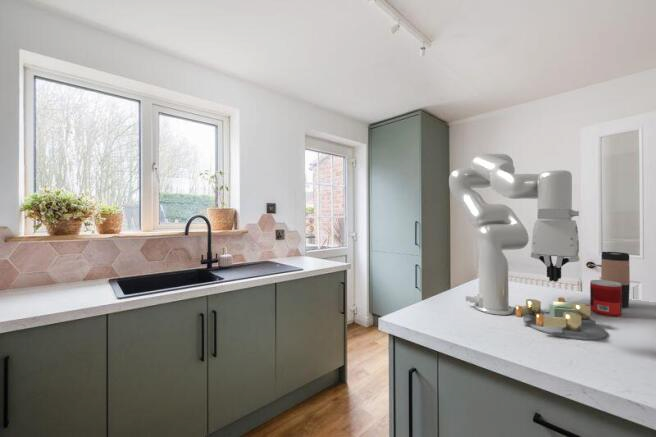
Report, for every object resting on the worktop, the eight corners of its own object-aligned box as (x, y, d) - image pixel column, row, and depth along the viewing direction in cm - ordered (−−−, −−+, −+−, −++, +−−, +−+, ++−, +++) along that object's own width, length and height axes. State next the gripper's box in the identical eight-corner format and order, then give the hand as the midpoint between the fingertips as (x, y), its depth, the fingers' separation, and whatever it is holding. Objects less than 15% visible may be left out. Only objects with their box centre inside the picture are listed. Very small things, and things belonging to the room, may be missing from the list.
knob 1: (529, 310, 98) (529, 298, 98) (543, 313, 94) (543, 301, 94) (511, 316, 92) (510, 304, 92) (524, 320, 89) (524, 307, 89)
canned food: (628, 317, 96) (628, 285, 96) (600, 316, 97) (600, 284, 97) (610, 310, 103) (610, 280, 103) (585, 309, 105) (585, 279, 105)
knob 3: (593, 319, 88) (593, 306, 88) (580, 319, 89) (580, 306, 89) (565, 307, 100) (565, 296, 100) (553, 307, 100) (553, 296, 100)
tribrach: (533, 334, 84) (533, 308, 84) (516, 312, 102) (516, 291, 102) (622, 344, 76) (622, 316, 76) (586, 318, 95) (586, 296, 95)
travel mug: (595, 302, 113) (595, 251, 112) (615, 302, 112) (615, 251, 112) (614, 308, 105) (614, 254, 105) (635, 308, 105) (635, 254, 104)
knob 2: (574, 325, 84) (574, 312, 84) (585, 331, 80) (585, 316, 80) (532, 324, 86) (532, 310, 86) (540, 329, 82) (540, 315, 82)
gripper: (592, 215, 76) (591, 282, 77) (526, 215, 88) (526, 274, 88) (588, 215, 71) (588, 288, 72) (519, 215, 83) (518, 278, 83)
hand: (553, 280), depth 80 cm, fingers closed
